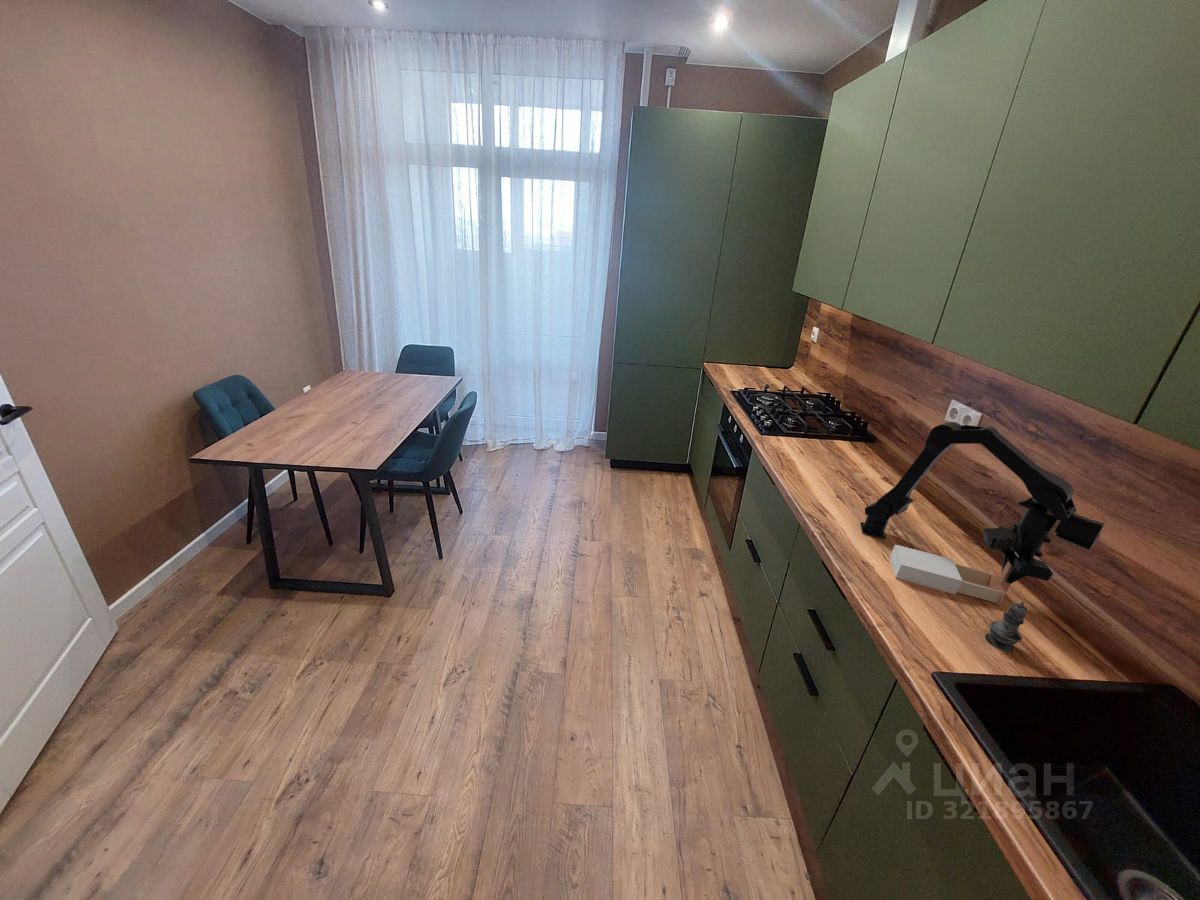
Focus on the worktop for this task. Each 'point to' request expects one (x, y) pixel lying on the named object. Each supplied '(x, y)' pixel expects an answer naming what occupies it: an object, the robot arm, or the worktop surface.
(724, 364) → the worktop surface
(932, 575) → the sleeve
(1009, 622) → the grey figurine
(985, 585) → the mailer tray
